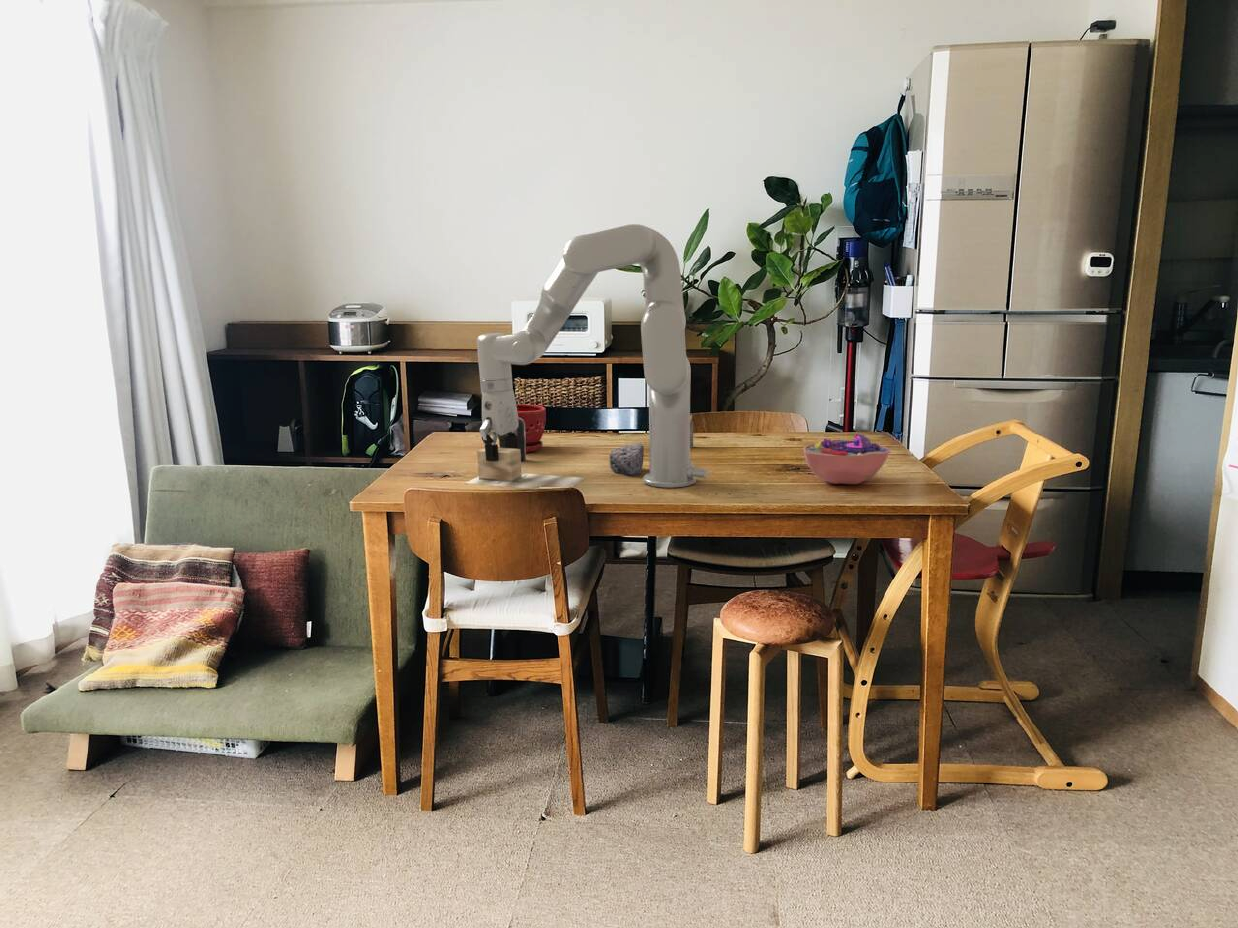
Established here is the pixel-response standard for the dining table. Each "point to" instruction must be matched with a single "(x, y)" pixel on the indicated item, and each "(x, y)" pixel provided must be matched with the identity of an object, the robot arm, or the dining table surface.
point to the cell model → (846, 459)
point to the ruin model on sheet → (691, 432)
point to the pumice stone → (627, 459)
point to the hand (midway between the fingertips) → (502, 456)
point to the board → (532, 481)
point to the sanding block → (500, 465)
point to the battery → (519, 439)
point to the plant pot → (532, 425)
